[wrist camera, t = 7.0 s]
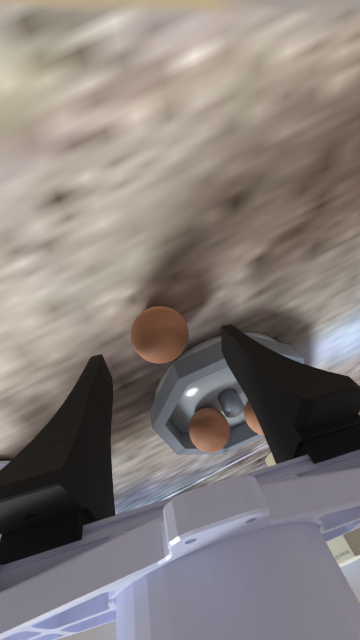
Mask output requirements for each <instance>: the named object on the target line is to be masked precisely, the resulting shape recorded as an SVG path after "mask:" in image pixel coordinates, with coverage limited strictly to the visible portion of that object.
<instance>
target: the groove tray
mask: <svg viewBox="0 0 360 640" xmlns="http://www.w3.org/2000/svg"><path fill="white" fill-rule="evenodd" d="M243 333H244V334H246V335H247V336H249V337H250V338H252V339H254V340H255V341H257V342H258V343H260V344H262V345H263V346H265V347H267V348H269V349H271V350H273V351H275V352H277V353H279V354H281V355H283V356H285V357H287V358H290V359H292V360H295V361H297V362H300V363H302V364H304V358H303V357H302V356H301V355H300V354H299V353H298V352H297V351H296V350H295V349H294V348H293V347H292V346H291V345H288V344H284V343H279V342H277V341H276V340H275V339H273V338H271V337H269V336H267V335H264V334H260V333H254V332H243ZM247 401H248V399H247V397H246V395H245V393H244V392H243V390H242V388H241V387H240V385H239V383H238V382H237V380H236V378H235V377H234V375H233V373H232V372H231V370H230V368H229V367H228V365H227V363H226V361H225V358H224V356H223V354H222V348H221V335H220V336H217V337H214V338H211V339H209V340H206V341H204V342H202V343H200V344H198V345H196V346H194V347H192V348H191V349H189V350H188V351H186V352H185V353H183V354H182V355H181V356H180V357H178V358H177V359H176V360H175V361H174V362H173V363H172V364H171V365H170V366H169V367H168V369H167V370H166V371H165V372H164V374H163V376H162V377H161V379H160V381H159V383H158V386H157V388H156V393H155V400H154V402H153V404H152V406H151V408H150V416H151V423H152V428H153V429H154V430H155V431H156V432H157V433H158V434H159V436H160V437H161V438H162V439H163V440H164V441H165V442H166V443H167V444H168V445H169V446H170V447H171V448H172V449H173V451H174V452H175V453H176V454H177V455H183V454H226V453H229V452H231V451H233V450H235V449H238V448H240V447H242V446H244V445H247V444H249V443H251V442H253V441H255V440H258V439H260V438H262V437H264V436H263V435H260V434H258V433H256V432H254V431H253V430H252V429H251V428H250V427H249V426H248V424H247V422H246V420H245V416H244V410H245V405H246V402H247ZM202 408H214V409H216V410H218V411H220V412H221V413H222V414H223V415H224V416H225V418H226V419H227V421H228V424H229V429H230V434H229V439H228V441H227V443H226V445H225V446H224V447H223V448H222V449H221V450H219V451H217V452H212V453H208V452H204V451H201V450H200V449H198V448H197V447H196V446H195V445H194V444H193V442H192V440H191V438H190V435H189V422H190V420H191V418H192V416H193V415H194V414H195V413H196V412H197V411H198V410H200V409H202Z"/></svg>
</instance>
